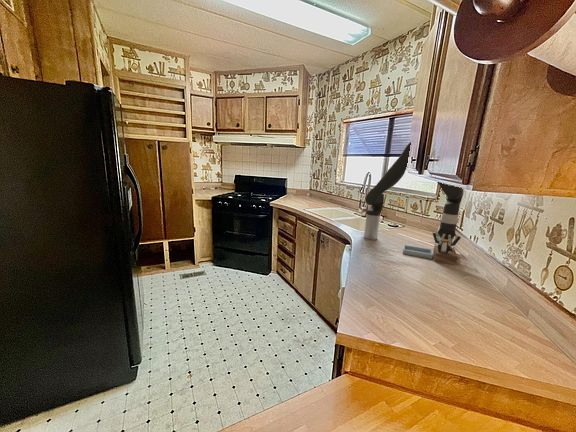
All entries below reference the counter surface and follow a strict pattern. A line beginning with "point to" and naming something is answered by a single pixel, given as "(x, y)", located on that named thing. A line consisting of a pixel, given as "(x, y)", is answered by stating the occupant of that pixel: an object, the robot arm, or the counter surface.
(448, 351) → the counter surface
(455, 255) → the wooden socket block
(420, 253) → the tray
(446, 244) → the pin
